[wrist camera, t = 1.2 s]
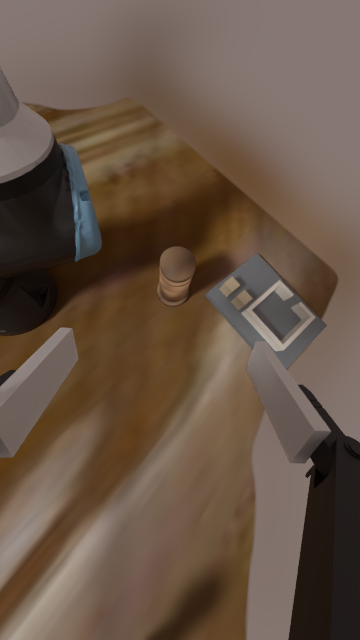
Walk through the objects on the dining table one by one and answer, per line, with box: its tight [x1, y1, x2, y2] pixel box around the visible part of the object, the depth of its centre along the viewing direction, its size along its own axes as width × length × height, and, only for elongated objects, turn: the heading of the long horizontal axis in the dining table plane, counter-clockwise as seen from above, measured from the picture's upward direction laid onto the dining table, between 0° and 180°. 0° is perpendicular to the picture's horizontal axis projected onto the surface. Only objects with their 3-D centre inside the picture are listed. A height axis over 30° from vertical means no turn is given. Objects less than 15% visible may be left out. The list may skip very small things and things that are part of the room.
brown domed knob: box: [157, 246, 196, 307], centre depth 35 cm, size 7×7×12 cm
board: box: [205, 253, 327, 369], centre depth 39 cm, size 22×16×4 cm
